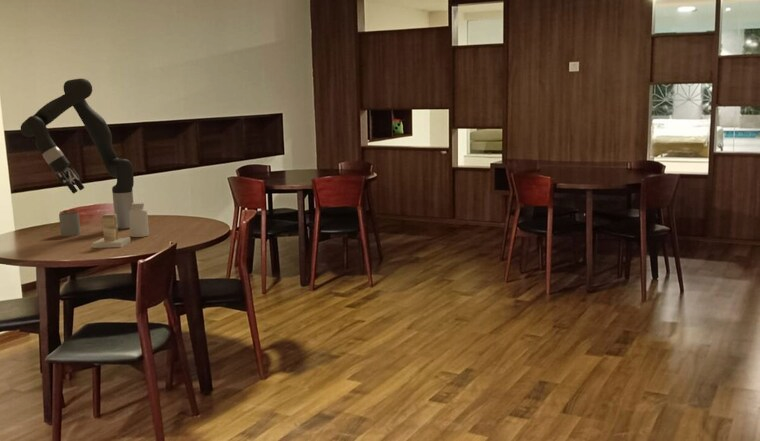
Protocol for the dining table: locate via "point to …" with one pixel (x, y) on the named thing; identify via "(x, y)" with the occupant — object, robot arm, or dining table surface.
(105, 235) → the maple block
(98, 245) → the block
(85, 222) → the dining table surface
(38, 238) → the dining table surface
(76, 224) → the cup
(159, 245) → the dining table surface
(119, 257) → the dining table surface
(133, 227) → the pill bottle
